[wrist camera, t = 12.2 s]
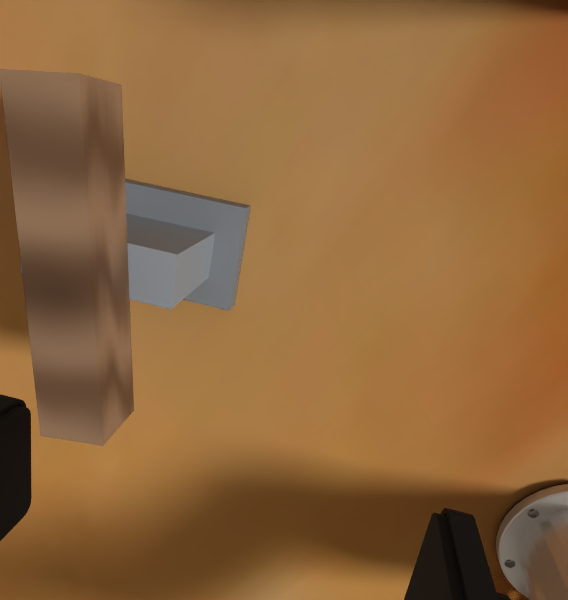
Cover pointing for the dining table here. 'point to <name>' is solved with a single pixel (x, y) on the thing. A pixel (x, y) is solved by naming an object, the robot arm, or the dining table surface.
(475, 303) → the dining table surface
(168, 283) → the ridge
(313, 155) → the dining table surface
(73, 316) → the rod
